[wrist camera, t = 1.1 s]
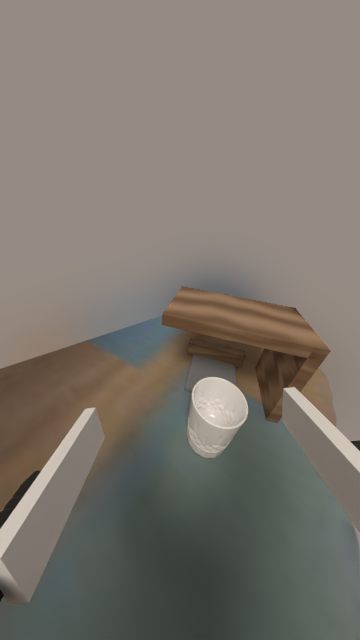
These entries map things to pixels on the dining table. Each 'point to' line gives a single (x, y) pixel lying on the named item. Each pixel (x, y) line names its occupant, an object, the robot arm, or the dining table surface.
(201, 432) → the white cup
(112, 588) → the dining table surface
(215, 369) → the felt pad
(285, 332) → the walnut shelf
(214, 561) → the dining table surface
